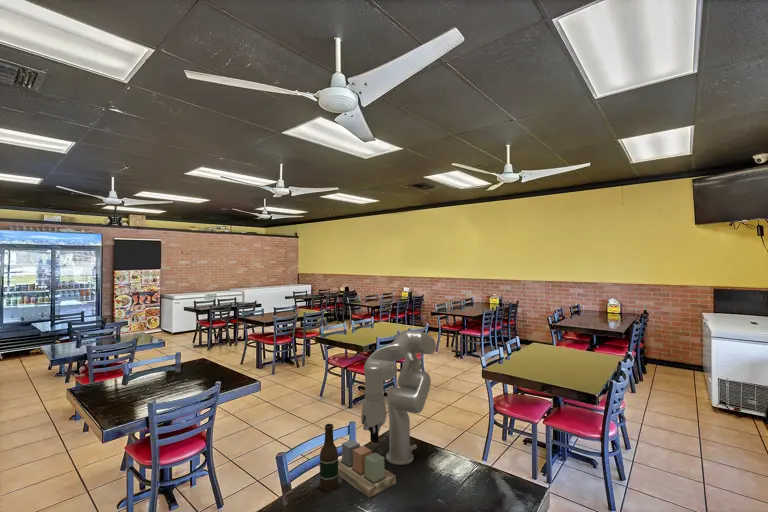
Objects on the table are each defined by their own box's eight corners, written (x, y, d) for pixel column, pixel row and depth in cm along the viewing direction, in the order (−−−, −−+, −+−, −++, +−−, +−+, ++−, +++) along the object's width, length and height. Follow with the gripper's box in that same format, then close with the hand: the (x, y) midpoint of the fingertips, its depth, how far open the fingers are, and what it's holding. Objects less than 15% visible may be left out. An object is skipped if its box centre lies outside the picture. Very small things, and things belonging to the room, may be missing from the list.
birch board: (356, 459, 166) (356, 452, 166) (395, 483, 147) (395, 475, 147) (331, 470, 157) (331, 463, 157) (369, 497, 138) (369, 489, 138)
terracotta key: (363, 464, 156) (363, 445, 156) (371, 469, 152) (371, 450, 152) (353, 469, 152) (353, 450, 153) (361, 474, 148) (361, 454, 149)
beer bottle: (334, 492, 141) (335, 429, 142) (316, 490, 143) (316, 428, 144) (341, 481, 149) (341, 421, 150) (323, 479, 150) (323, 420, 151)
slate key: (352, 457, 162) (352, 439, 162) (359, 462, 158) (359, 443, 158) (341, 462, 158) (341, 443, 159) (349, 467, 154) (349, 448, 155)
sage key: (375, 472, 150) (375, 452, 151) (384, 477, 146) (384, 457, 146) (364, 477, 146) (364, 457, 147) (373, 483, 142) (373, 462, 143)
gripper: (381, 389, 156) (382, 433, 155) (354, 397, 146) (354, 444, 145) (393, 393, 150) (394, 438, 149) (365, 402, 140) (366, 451, 139)
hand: (374, 441), depth 147 cm, fingers closed
